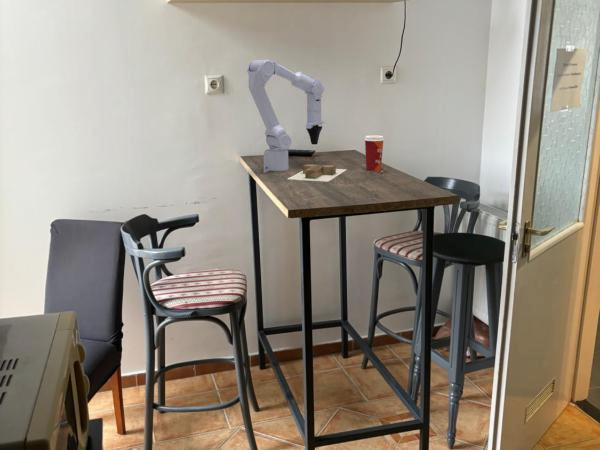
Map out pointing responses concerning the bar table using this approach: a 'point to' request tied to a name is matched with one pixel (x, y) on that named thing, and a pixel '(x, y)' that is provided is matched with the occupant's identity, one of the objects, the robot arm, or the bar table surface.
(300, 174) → the board
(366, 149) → the paper cup
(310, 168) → the t block
